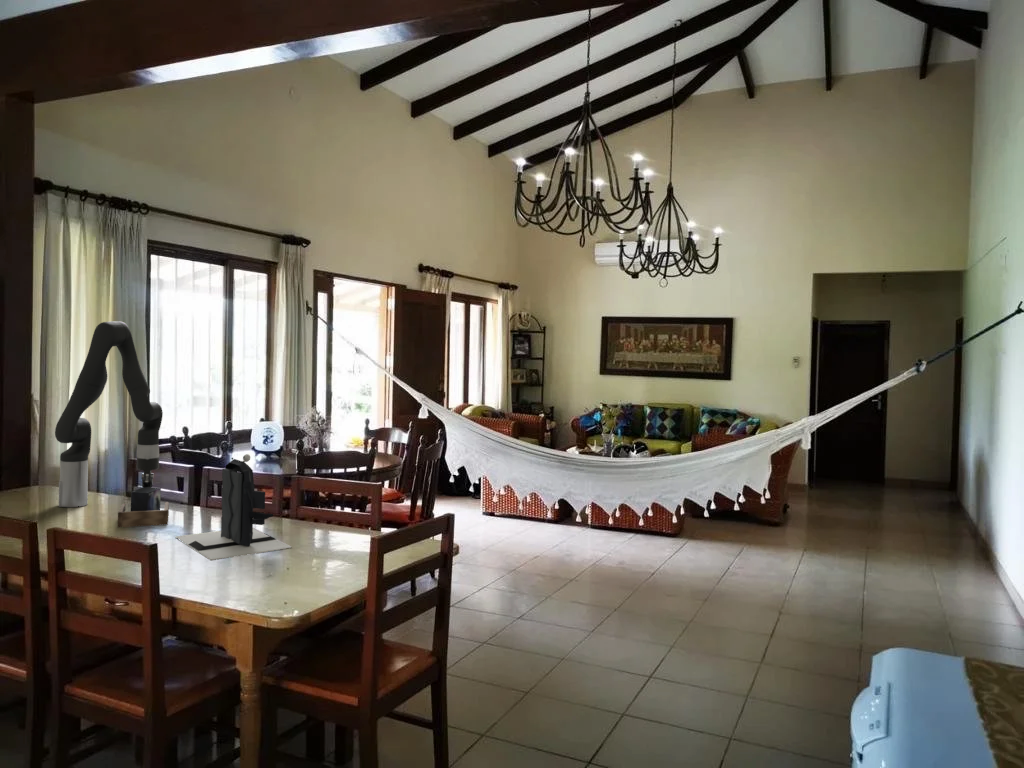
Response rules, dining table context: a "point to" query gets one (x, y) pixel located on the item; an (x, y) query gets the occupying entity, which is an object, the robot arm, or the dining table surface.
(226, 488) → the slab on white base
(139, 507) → the small box
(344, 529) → the dining table surface
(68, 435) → the robot arm
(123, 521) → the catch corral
